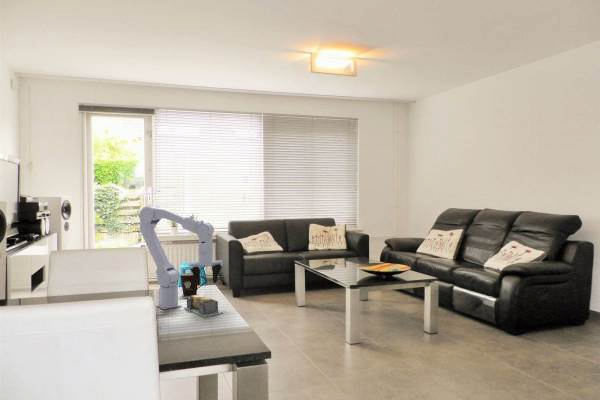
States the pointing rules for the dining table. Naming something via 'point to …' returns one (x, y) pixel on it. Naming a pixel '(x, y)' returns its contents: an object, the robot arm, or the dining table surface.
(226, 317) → the dining table surface
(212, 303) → the bracket
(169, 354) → the dining table surface
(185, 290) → the coffee mug
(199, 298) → the rail
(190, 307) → the bracket
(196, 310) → the board
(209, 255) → the robot arm
